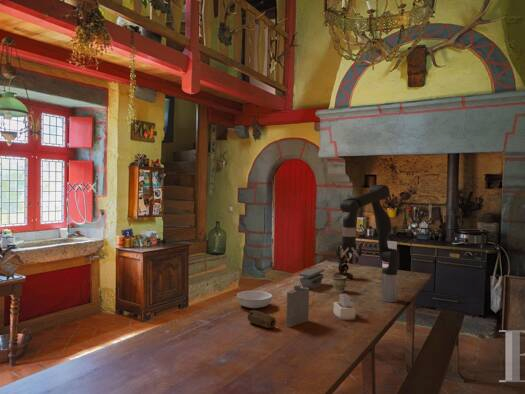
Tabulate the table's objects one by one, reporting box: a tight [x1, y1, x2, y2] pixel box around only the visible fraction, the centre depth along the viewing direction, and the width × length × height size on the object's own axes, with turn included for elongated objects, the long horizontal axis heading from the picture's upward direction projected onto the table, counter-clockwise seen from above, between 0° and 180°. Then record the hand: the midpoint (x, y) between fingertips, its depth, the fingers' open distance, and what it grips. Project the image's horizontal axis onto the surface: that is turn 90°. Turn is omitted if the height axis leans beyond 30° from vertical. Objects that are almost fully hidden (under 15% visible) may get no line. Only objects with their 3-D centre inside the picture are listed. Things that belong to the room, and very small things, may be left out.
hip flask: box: [285, 284, 310, 328], centre depth 207 cm, size 16×4×20 cm, turn 134°
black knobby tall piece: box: [333, 253, 354, 279], centre depth 313 cm, size 15×15×20 cm
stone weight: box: [247, 309, 277, 329], centre depth 202 cm, size 15×7×7 cm, turn 55°
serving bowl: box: [236, 290, 273, 309], centre depth 234 cm, size 21×21×7 cm
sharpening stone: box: [298, 267, 325, 290], centre depth 284 cm, size 25×8×11 cm, turn 149°
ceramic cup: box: [331, 274, 352, 294], centre depth 272 cm, size 13×10×10 cm
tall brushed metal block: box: [338, 293, 351, 308], centre depth 221 cm, size 4×7×10 cm, turn 8°
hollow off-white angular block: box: [332, 301, 357, 321], centre depth 221 cm, size 8×12×6 cm
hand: (348, 263), depth 226 cm, fingers open, 8 cm apart
